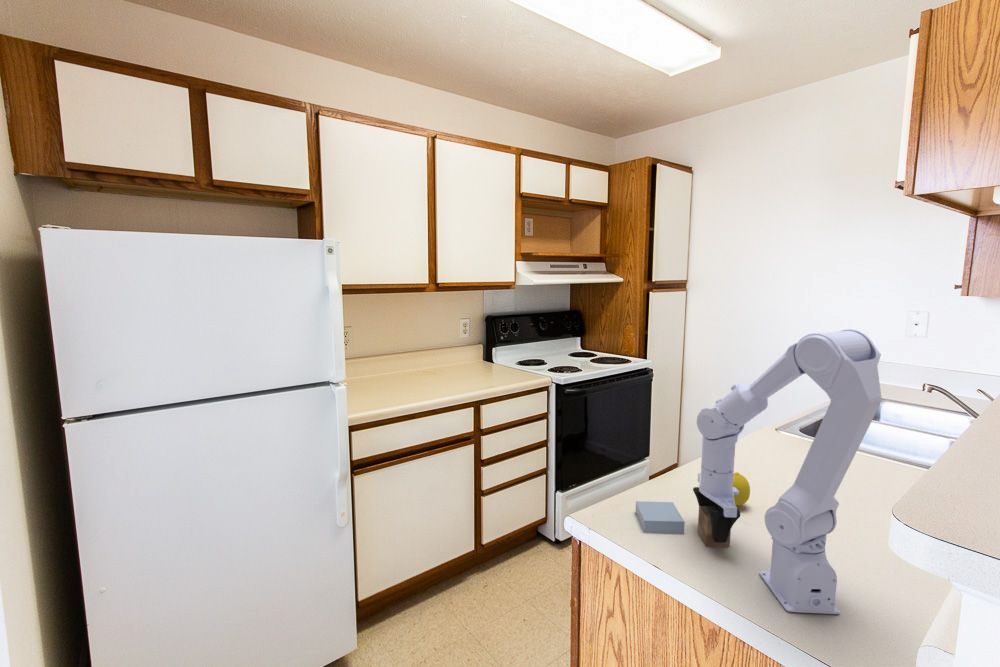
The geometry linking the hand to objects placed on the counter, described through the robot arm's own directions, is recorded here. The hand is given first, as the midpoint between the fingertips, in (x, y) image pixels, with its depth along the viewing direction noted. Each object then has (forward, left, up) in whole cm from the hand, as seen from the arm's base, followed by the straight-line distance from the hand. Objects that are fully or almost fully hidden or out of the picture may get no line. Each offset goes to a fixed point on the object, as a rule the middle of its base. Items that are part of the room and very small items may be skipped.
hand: (713, 532), depth 91 cm
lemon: (+14, -10, -2) cm, 17 cm away
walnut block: (0, 0, -2) cm, 2 cm away
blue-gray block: (+6, +9, -2) cm, 11 cm away
